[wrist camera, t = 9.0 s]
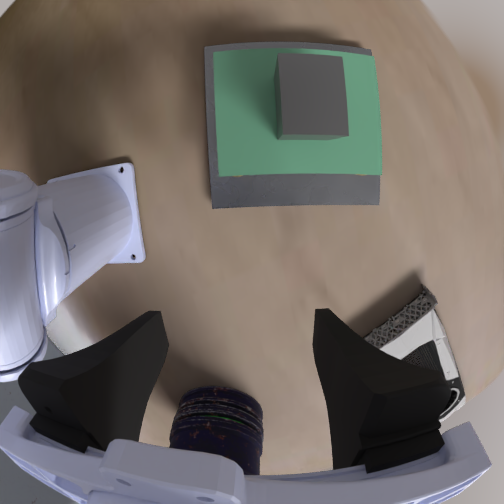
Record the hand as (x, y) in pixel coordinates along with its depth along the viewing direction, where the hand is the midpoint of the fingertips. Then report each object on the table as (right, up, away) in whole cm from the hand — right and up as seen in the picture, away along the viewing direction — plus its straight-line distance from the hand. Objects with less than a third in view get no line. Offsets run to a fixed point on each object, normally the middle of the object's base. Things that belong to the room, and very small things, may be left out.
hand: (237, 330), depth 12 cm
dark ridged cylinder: (-3, -15, +16) cm, 22 cm away
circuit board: (+4, +12, +3) cm, 13 cm away
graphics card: (+20, -11, +14) cm, 27 cm away
